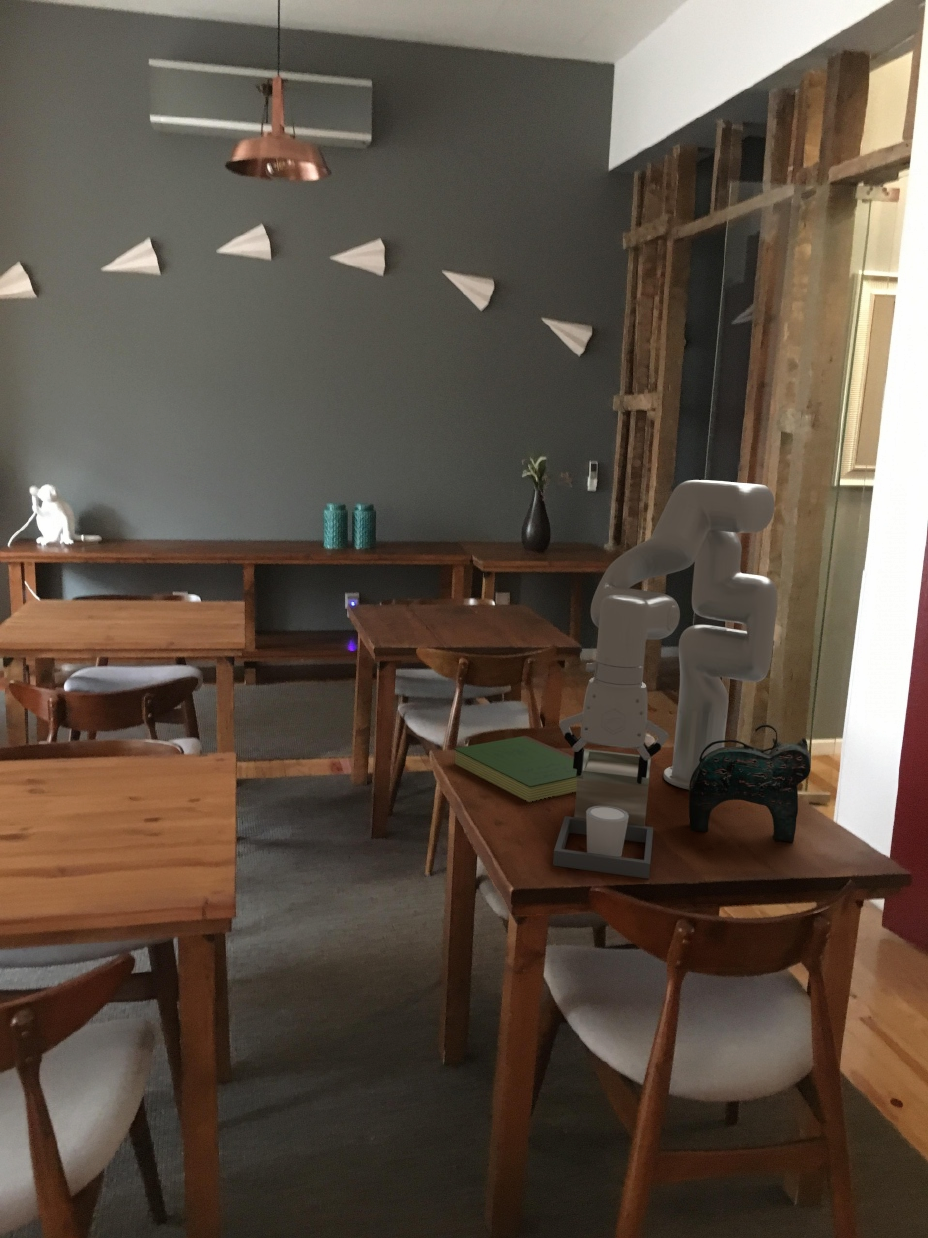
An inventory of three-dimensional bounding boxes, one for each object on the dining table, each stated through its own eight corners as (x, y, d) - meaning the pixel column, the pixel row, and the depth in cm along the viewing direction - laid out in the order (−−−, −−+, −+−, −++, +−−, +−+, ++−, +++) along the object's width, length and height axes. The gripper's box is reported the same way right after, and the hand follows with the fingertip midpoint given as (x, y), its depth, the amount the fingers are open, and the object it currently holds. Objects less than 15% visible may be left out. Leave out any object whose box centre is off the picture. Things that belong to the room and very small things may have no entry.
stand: (580, 803, 188) (584, 749, 186) (646, 811, 185) (651, 756, 183) (573, 827, 176) (577, 770, 174) (643, 836, 174) (648, 778, 172)
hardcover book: (603, 788, 197) (604, 770, 197) (528, 805, 187) (530, 786, 186) (522, 751, 217) (523, 734, 216) (451, 765, 206) (451, 747, 206)
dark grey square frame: (563, 829, 175) (564, 816, 174) (652, 841, 172) (653, 827, 171) (552, 865, 160) (554, 850, 160) (648, 878, 157) (650, 863, 157)
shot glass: (624, 864, 162) (627, 823, 161) (581, 858, 163) (584, 817, 162) (626, 847, 169) (629, 807, 168) (584, 842, 170) (588, 802, 169)
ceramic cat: (800, 834, 178) (814, 725, 174) (805, 849, 172) (819, 736, 168) (685, 820, 182) (695, 713, 178) (685, 834, 176) (696, 723, 172)
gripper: (561, 672, 158) (552, 777, 161) (674, 685, 155) (663, 792, 158) (566, 663, 166) (558, 763, 168) (674, 674, 162) (664, 777, 165)
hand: (609, 777), depth 163 cm, fingers open, 9 cm apart
